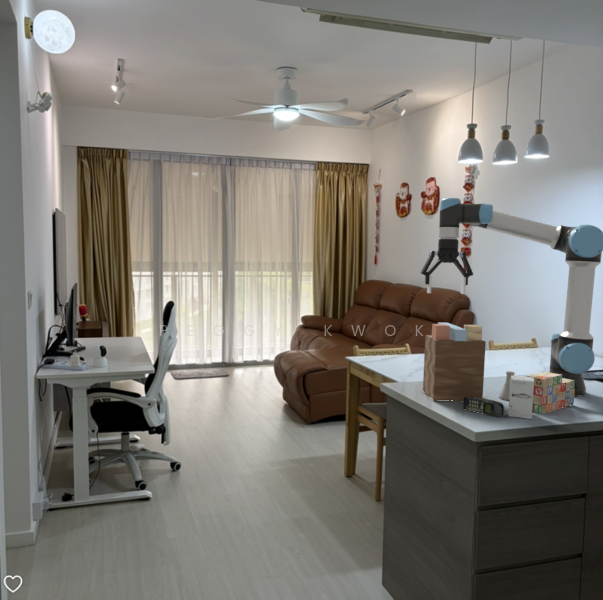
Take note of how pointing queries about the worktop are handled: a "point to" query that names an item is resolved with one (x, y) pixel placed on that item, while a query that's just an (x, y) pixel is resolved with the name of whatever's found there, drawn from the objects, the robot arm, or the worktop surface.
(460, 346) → the walnut stand
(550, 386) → the stack of blocks
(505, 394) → the flask
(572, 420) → the worktop surface
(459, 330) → the blue bar
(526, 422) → the worktop surface
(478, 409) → the mobile phone
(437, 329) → the brick cube
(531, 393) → the supplement box
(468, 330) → the oak cube
